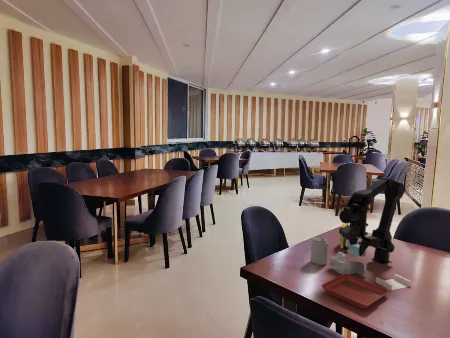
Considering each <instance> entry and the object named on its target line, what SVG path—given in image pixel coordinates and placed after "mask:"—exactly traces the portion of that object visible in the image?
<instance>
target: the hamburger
mask: <svg viewBox="0 0 450 338" xmlns="http://www.w3.org/2000/svg"><path fill="white" fill-rule="evenodd" d="M349 225H350V223H346V224H345V223H342V225H341V226H340V228H341V227H348V226H349ZM340 228H339V229H340ZM338 242H339V244H340V249H341V248H342V249H344V247H345V248H349V245H350V243H349V240H348V239H346V238H345V237H342V234H340V233H339V232H338Z"/></svg>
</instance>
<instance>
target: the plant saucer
mask: <svg viewBox="0 0 450 338" xmlns="http://www.w3.org/2000/svg"><path fill="white" fill-rule="evenodd" d="M345 282H348V283H351V284H353V285H356V286H358V287H361V288H363V289H366V290H368V291H371V292H373V293H375V294H378V295H380V296H379V297H377V296H374V295H372V294H368V293H364V292H362V291H358V290H355V289H353V288H349V287H348V286H346V285H345V284H343V283H345ZM321 287H322V288H323V290H324V291H325V292H326V293H327V294H328V295H331V296H333V297H335V298H336V299H337V298H338V299H339V300H341V301H344V302H346V303H348V304H350V305H353V306H354V307H357V308H359V309H362V310H366V309H367V308H369V307H370V306H372V305H373V304H375V303H376V302H378V301H379V300H381V299H383V297H385V296H387V294H389V293H390V290H389V289H387V288H385V287H383V286H380V285H376V284H374V283H371V282H369V281H366V280H364V279H360V278H358V277H355V276H353V275H352V274H343V275H342V274H340V275H339V276H337V277H335V278H333V279H331V280H328V281H327V282H325V283H322V284H321Z"/></svg>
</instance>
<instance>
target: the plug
mask: <svg viewBox="0 0 450 338" xmlns="http://www.w3.org/2000/svg"><path fill="white" fill-rule="evenodd" d="M359 246H360V245H359V244H358V243H357V244H352V245H349V247H348V249H347V250H346V252H347V254H348V255H349V256H350V257H353V258H363V257H366V251H367V249H366V250H365V252H364V254H363V255H362V256H359Z"/></svg>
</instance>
